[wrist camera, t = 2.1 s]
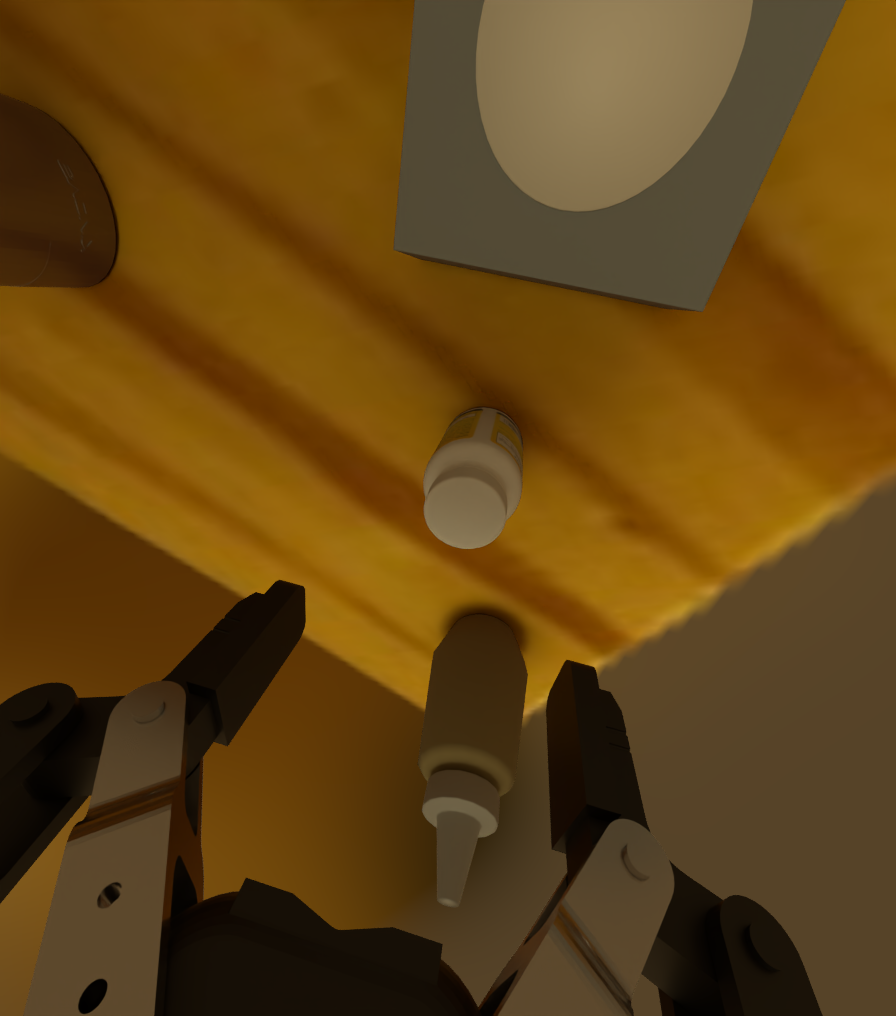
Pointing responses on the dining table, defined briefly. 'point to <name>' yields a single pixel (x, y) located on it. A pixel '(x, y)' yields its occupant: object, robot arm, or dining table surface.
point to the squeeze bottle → (470, 740)
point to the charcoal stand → (598, 136)
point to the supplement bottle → (474, 478)
